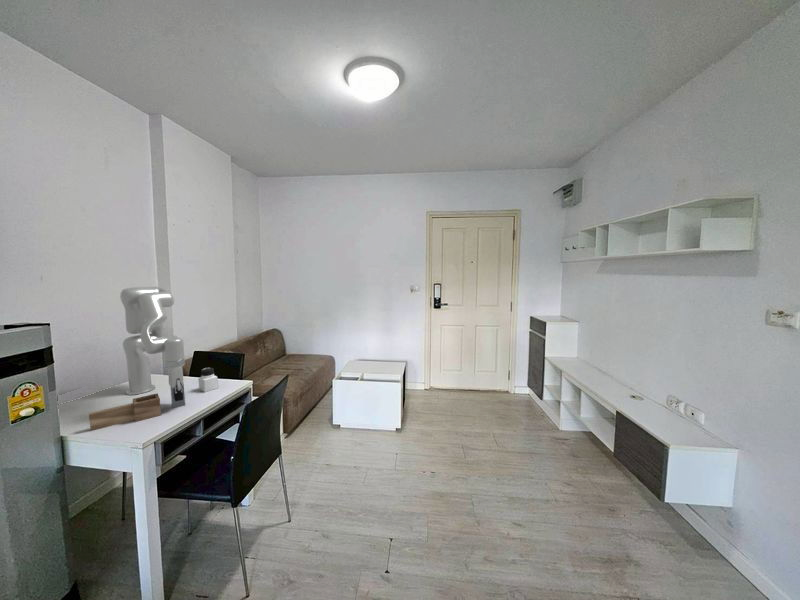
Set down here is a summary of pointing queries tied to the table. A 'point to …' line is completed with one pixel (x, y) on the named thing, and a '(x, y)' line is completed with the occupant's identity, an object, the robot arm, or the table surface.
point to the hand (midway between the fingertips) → (178, 398)
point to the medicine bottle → (208, 380)
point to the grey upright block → (174, 403)
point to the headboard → (126, 412)
